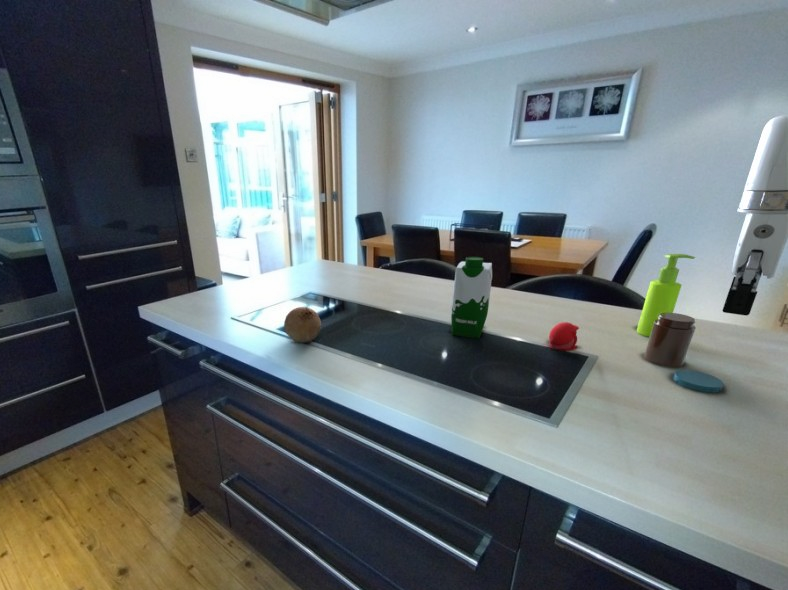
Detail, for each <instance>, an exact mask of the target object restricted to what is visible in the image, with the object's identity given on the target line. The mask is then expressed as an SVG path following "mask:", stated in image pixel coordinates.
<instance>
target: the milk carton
mask: <svg viewBox="0 0 788 590" xmlns="http://www.w3.org/2000/svg"><path fill="white" fill-rule="evenodd" d="M492 280H493V263H492V262H484V258H483V257H480V256H468V257H467V256H466V258H465V261H460V262H459V263H458V264H457V266H456V268H455V273H454V282H453V289H452V291H453V292H452V302H451V304H452V305H451V313H450V314H451V316H450V318H451V319H450V320H451V321H450V322H451V336H455V337H464V338H472V339H480V338H481V336H482V333H483V329H484V327H485V323H486V321H487V317H488V313H489V306H490V297H491V291H492Z"/></svg>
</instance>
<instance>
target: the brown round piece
mask: <svg viewBox="0 0 788 590" xmlns="http://www.w3.org/2000/svg"><path fill="white" fill-rule="evenodd" d="M283 322H284V323H283V326H284V332H285V334H286V335H287V336H288V337H289V338H290V339H291V340H293V342H294V343H303V344H306V343H309V342H312V341H314V340H315V339H316V338H317V337H318V336H319V334H320V332H321V329H322V320H321V318H320V316H319V314H318V312H316V311H315V310H314V309H312V308H310V307H306V306H298V307H295V308H293V309H291V310H290V311H289V312H288V313H287V314H286V316H285V319H284V321H283Z"/></svg>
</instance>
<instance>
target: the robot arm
mask: <svg viewBox="0 0 788 590" xmlns="http://www.w3.org/2000/svg"><path fill="white" fill-rule="evenodd" d="M736 212H737V213H741V214H746V215H745V218H744V221H743V224H742V228H741V230H740V234H739V236H738V241H737V243H736V247H735V252H734V256H733V262H732V269H731V274H732V275H734V276H733V278H732V281H731V284H730V287H729V290H728V293H727V295H726V299H725V301H724V304H723V308H722V313H725V314H732V315H739V316H746V317H747V316H749V315H750V314H751V311H752V309H753V305H754V302H755V300H756V297H757V295H758V291H757V289H758V286H759V282H760V280H761V278H762V276H763V277H766V279H772V278H774V277H775V274H776V271H777V269H778V266H779V263H780V260H781V257H782V254H783V252H784V249H785V246H786V244H787V241H788V113H787V114H786V113H785V114H782V115H778V116H775V117H773V118H771V119H770V120H769V121H768V122H767V123H766V124H765V126H764V127H763V129H762V132H761V135H760V139H759V142H758V145H757V148H756V151H755V154H754V157H753V160H752V163H751V166H750V169H749V172H748V176H747V180H746V182H745V185H744V189H743V191H742V195H741V198H740V200H739V204H738V208H737V211H736Z"/></svg>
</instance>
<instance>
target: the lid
mask: <svg viewBox="0 0 788 590" xmlns="http://www.w3.org/2000/svg"><path fill="white" fill-rule="evenodd" d="M672 380H673V381H674V382H675V383H676V384H678V385H680V386H682V387H684V388H686V389H690V390H693V391H696V392H701V393H702V392H703V393H709V394H710V393H712V394H714V393H719V392H721V391H722V390H723V387H724V382H723V380H721V379H720V378H718V377H717V376H714V375H713V374H710V373H706V372H703V371H699V370H693V369H678V370H675V372H674V374H673V376H672Z"/></svg>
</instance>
